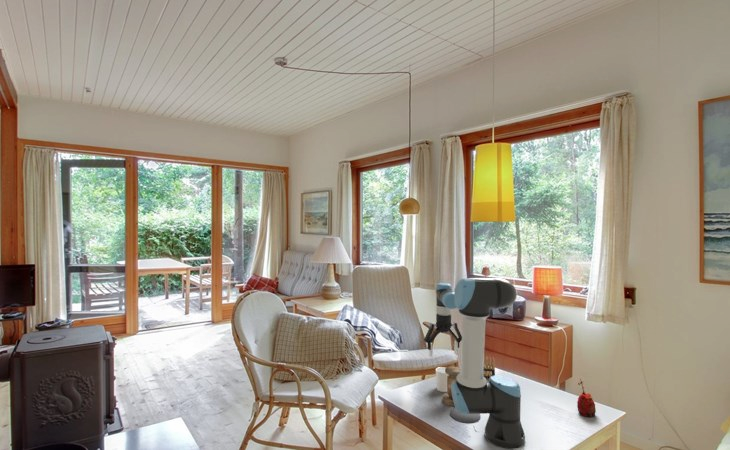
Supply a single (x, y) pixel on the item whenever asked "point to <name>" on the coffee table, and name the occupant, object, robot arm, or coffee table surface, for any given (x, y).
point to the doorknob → (450, 378)
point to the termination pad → (464, 416)
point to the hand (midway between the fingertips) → (443, 354)
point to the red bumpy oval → (586, 404)
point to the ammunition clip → (489, 368)
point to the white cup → (441, 379)
